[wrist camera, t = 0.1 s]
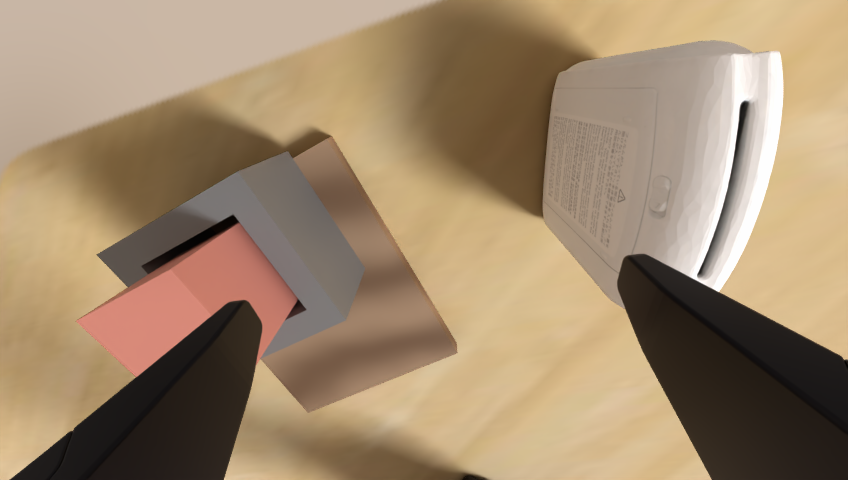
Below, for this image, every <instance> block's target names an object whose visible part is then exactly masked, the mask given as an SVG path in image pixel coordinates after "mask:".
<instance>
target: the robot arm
mask: <svg viewBox="0 0 848 480" xmlns="http://www.w3.org/2000/svg"><path fill="white" fill-rule="evenodd" d="M617 288H618V292H619V294H620V297H621V299H622V302H623V304H624V307H625V309H626V312H627V314H628V317H629V319H630V322H631V324H632V327H633V329H634V332H635V334H636V337H637V339H638V342H639V344H640V346H641V348H642V351H643V353H644V355H645V356H646V358H647V360H648V362H649V364H650V366H651V368H652V370H653V372H654V373H655V375H656V377H657V379H658V381H659V383H660V384H661V386H662V388H663V390H664V392H665V394H666V396H667V397H668V399H669V401H670V403H671V405H672V407H673V409H674V410H675V412H676V414H677V416H678V418H679V420H680V421H681V423H682V425H683V427H684V429H685V431H686V433H687V434H688V436H689V438H690V440H691V442H692V444H693V446H694V447H695V449H696V451H697V453H698V455H699V457H700V458H701V460H702V462H703V464H704V466H705V468H706V470H707V471H708V473H709V475H710V477H711V479H712V480H848V360H844V359H843V357H842V356H840V355H838V354H836V353H834V352H832V351H831V350H829V349H827V348H825V347H823V346H821V345H819V344H817V343H815V342H813V341H811V340H810V339H808V338H806V337H804V336H802V335H800V334H798V333H796V332H794V331H792V330H790V329H789V328H787V327H785V326H783V325H781V324H779V323H777V322H775V321H773V320H771V319H769V318H767V317H766V316H764V315H762V314H760V313H758V312H756V311H754V310H752V309H750V308H748V307H746V306H745V305H743V304H741V303H739V302H737V301H735V300H733V299H731V298H729V297H727V296H725V295H724V294H722V293H720V292H718V291H716V290H714V289H712V288H710V287H708V286H706V285H704V284H703V283H701V282H699V281H697V280H695V279H693V278H691V277H689V276H687V275H685V274H683V273H682V272H680V271H678V270H676V269H674V268H672V267H670V266H668V265H666V264H664V263H662V262H660V261H659V260H657V259H655V258H653V257H651V256H649V255H647V254H633V255H627V256H625V257H624V258H623V261H622V264H621V268H620V272H619V276H618V279H617ZM262 327H263V326H262V322H261V320H260V318H259V316H258V315H257V313H256V312H255V310H254V309H253V307H252V306H251V304H250V303H249V302H248V301H247V300H237V301H231V302H228V303H227V304H225V305H224V306H223V307H222V308H220V309H219V310H218V311H217V312H216V313H214V314H213V315H212V316H211V317H209V318H208V319H207V320H206V321H205V322H203V323H202V324H201V325H200V326H198V327H197V328H196V329H195V330H194V331H192V332H191V333H190V334H189V335H187V336H186V337H185V338H184V339H182V340H181V341H180V342H179V343H178V344H176V345H175V346H174V347H173V348H171V349H170V350H169V351H168V352H167V353H165V354H164V355H163V356H162V357H160V358H159V359H158V360H157V361H156V362H154V363H153V364H152V365H151V366H149V367H148V368H147V369H146V370H145V371H143V372H142V373H141V374H140V375H138V376H137V377H136V378H135V379H134V380H132V381H131V382H130V383H129V384H127V385H126V386H125V387H124V388H123V389H121V390H120V391H119V392H118V393H116V394H115V395H114V396H113V397H112V398H110V399H109V400H108V401H107V402H105V403H104V404H103V405H102V406H101V407H99V408H98V409H97V410H96V411H94V412H93V413H92V414H91V415H89V416H88V417H87V418H86V419H85V420H83V421H82V422H81V423H80V424H78V425H77V426H76V427H75V428H74V430H73V431H70V432H69V433H67V434H66V435H65V436H64V437H62V438H61V439H60V440H59V441H58V442H56V443H55V444H54V445H53V446H52V447H50V448H49V449H48V450H47V451H45V452H44V453H43V454H42V455H40V456H39V457H38V458H37V459H35V460H34V461H33V462H32V463H30V464H29V465H28V466H27V467H25V468H24V469H23V470H22V471H20V472H19V473H18V474H17V475H15V476H14V477H13V478H11V479H10V480H224V477H225V474H226V471H227V467H228V464H229V461H230V457H231V454H232V451H233V447H234V444H235V441H236V437H237V434H238V431H239V427H240V424H241V421H242V418H243V414H244V411H245V408H246V404H247V401H248V398H249V394H250V390H251V386H252V382H253V377H254V372H255V367H256V362H257V356H258V351H259V346H260V341H261V335H262ZM463 480H478V479H476V478H474V477H472V476H467V477H465V478H464V479H463Z"/></svg>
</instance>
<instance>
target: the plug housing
mask: <svg viewBox="0 0 848 480" xmlns="http://www.w3.org/2000/svg"><path fill="white" fill-rule="evenodd" d="M233 214H234V216H235V217H236V218H237V220H238V221H239V222H240V224H241V225H242V226H243V227H244V229H245V230H246V231H247V233H248V234H249V235H250V237H251V238H252V239H253V240H254V242H255V243H256V244H257V246H258V247H259V248H260V250H261V251H262V252H263V253H264V255H265V256H266V257H267V259H268V260H269V261H270V263H271V264H272V265H273V266H274V268H275V269H276V270H277V272H278V273H279V274H280V276H281V277H282V278H283V280H284V281H285V282H286V283H287V285H288V286H289V287H290V289H291V290H292V291H293V293H294V294H295V295H296V296H297V298H298V300H297V302H296V304H295V305H294V307H293V308H292V310H291V311H290V313H289V314H288V316H287V318H286V319H285V321H284V322H283V324H282V325H281V327H280V329H279V330H278V332H277V333H276V335H275V336H274V338H273V339H272V341H271V343H270V344H269V346H268V347H267V349H266V350H265V352H264V353H263V355H262V357H261V358H264V357H266V356H268V355H270V354H272V353H275V352H277V351H279V350H281V349H284V348H286V347H288V346H290V345H292V344H295V343H297V342H299V341H301V340H303V339H306V338H308V337H310V336H312V335H315V334H317V333H319V332H321V331H323V330H326V329H328V328H330V327H332V326H335V325H337V324H339V323H341V322H343V321H346V319H347V317H348V314H349V311H350V308H351V306H352V303H353V300H354V298H355V295H356V292H357V290H358V287H359V284H360V282H361V279H362V276H363V273H364V271H365V267H364V266H363V264H362V263H361V261H360V260H359V258H358V257H357V255H356V254H355V252H354V251H353V249H352V247H351V246H350V244H349V243H348V241H347V240H346V238H345V237H344V235H343V234H342V232H341V231H340V229H339V228H338V226H337V225H336V223H335V222H334V220H333V219H332V217H331V216H330V214H329V213H328V211H327V210H326V208H325V207H324V205H323V203H322V202H321V200H320V199H319V197H318V196H317V194H316V193H315V191H314V190H313V188H312V187H311V185H310V184H309V182H308V181H307V179H306V178H305V176H304V175H303V173H302V172H301V170H300V169H299V167H298V166H297V164H296V163H295V161H294V159H293V158H292V156H291V155H290V153H289V152H288V151H287V152H284V153H282V154H279V155H277V156H274V157H272V158H269V159H267V160H264V161H262V162H259V163H257V164H254V165H252V166H250V167H247V168H245V169H242V170H240V171H237V172H236V173H234V174H232V175H231V176H229V177H227V178H226V179H224V180H222V181H220V182H219V183H217V184H215V185H214V186H212V187H210V188H209V189H207V190H205V191H204V192H202V193H200V194H198V195H197V196H195V197H193V198H192V199H190V200H188V201H187V202H185V203H183V204H182V205H180V206H178V207H176V208H175V209H173V210H171V211H170V212H168V213H166V214H165V215H163V216H161V217H160V218H158V219H156V220H154V221H153V222H151V223H149V224H148V225H146V226H144V227H143V228H141V229H139V230H137V231H136V232H134V233H132V234H131V235H129V236H127V237H126V238H124V239H122V240H121V241H119V242H117V243H115V244H114V245H112V246H110V247H109V248H107V249H105V250H104V251H102V252H100V253H99V254H97V256H98V257H99V258H100V259H101V260H102V261H103V262H104V263H105V264H106V265H107V266H108V267H109V268H110V269H111V270H112V271H113V272H114V273H115V274H116V275H117V276H118V277H119V279H120V280H121V281H122V282H123V283H124V284H125V285H126V286H127V287H130V286H131V285H133V284H134V283H136V282H137V281H139V280H140V279H142V278H144V277H145V276H147V275H148V274H150V273H151V272H153V271H154V270H156V269H158V268H159V267H161V266H162V265H164V264H165V263H167V262H168V261H170V260H172V259H173V258H175V257H176V256H178V255H180V254H181V253H183V252H185V251H187V250H189V249H190V248H192V247H194V246H196V245H198V244H199V243H201V242H203V241H205V240H207V239H208V238H210V237H212V236H214V235H216V234H217V233H216V232H215V231H214V230H213V228H212V227H211V226H213V225H215V224H217V223H218V222H220V221H222V220H224V219H226V218H227V217H229V216H231V215H233ZM261 358H260V359H261Z"/></svg>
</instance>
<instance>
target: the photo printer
mask: <svg viewBox="0 0 848 480" xmlns="http://www.w3.org/2000/svg"><path fill="white" fill-rule="evenodd" d="M782 106H783V73H782V62H781V56H780V52H779V51H766V52H758V53H753V52H751V51H750V50H748V49H746V48H744V47H742V46H739V45H737V44H734V43H730V42H724V41H714V40H713V41H698V42H692V43H687V44H681V45H676V46H670V47H664V48H658V49H652V50H646V51H640V52H634V53H628V54H622V55H616V56H610V57H604V58H599V59H593V60H588V61H583V62H580V63H577V64H575V65H573V66H571V67H570V68H569V69H567V70H566V71H562V72H559V74H558V77H557V80H556V83H555V87H554V92H553V97H552V103H551V111H550V119H549V129H548V139H547V150H546V161H545V173H544V184H543V216H544V222H545V224H546V225H547V227H548V228H549V229H550V230H551V231H552V233H553V234H554V235H555V236H556V237H557V238H558V239H559V241H560V242H561V243H562V244H563V245H564V246H565V248H566V249H567V250H568V251H569V252H570V253H571V255H572V256H573V257H574V258H575V259H576V260H577V262H578V263H579V264H580V265H581V266H582V267H583V269H584V270H585V271H586V272H587V273H588V275H589V276H590V277H591V278H592V279H593V280H594V282H595V283H596V284H597V285H598V286H599V287H600V289H601V290H602V291H603V292H604V294H605V295H606V296H607V297H608V298H609V299H610V300H611V301H613V302H614V303H616V304H617V305H619V306H621V307H622V308H624V309H625V307H624V304H623V302H622V299H621V297H620V294H619V292H618V288H617V279H618V276H619V272H620V268H621V264H622V261H623V258H624V257H625V256H627V255H633V254H647V255H649V256H651V257H653V258H655V259H657V260H659V261H660V262H662V263H664V264H666V265H668V266H670V267H672V268H674V269H676V270H678V271H680V272H682V273H683V274H685V275H687V276H689V277H691V278H693V279H695V280H697V281H699V282H701V283H703V284H704V285H706V286H708V287H710V288H712V289H714V290H716V291H718V292H719V291H720V289H721V288H722V286H723V285H724V283H725V282H726V280H727V279H728V277H729V276H730V274H731V272H732V271H733V269H734V267H735V265H736V264H737V262H738V260H739V258H740V256H741V254H742V252H743V250H744V248H745V246H746V243H747V241H748V239H749V237H750V234H751V232H752V229H753V227H754V225H755V222H756V219H757V217H758V214H759V211H760V208H761V205H762V202H763V199H764V196H765V193H766V189H767V186H768V182H769V179H770V175H771V171H772V167H773V163H774V159H775V154H776V149H777V144H778V138H779V132H780V124H781V116H782Z"/></svg>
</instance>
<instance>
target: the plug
mask: <svg viewBox="0 0 848 480" xmlns="http://www.w3.org/2000/svg"><path fill="white" fill-rule="evenodd" d="M237 300H247V301H248V302H249V303H250V304H251V306H252V307H253V309H254V310H255V312H256V313H257V315H258V316H259V318H260V320H261V322H262V326H263V327H262V335H261V341H260V346H259V351H258V356H257V362H256V364H257V363H258V361H259V360H260V358H261V357H262V355H263V353H264V352H265V350H266V349H267V347H268V346H269V344H270V343H271V341H272V339H273V338H274V336H275V335H276V333H277V332H278V330H279V329H280V327H281V325H282V324H283V322H284V321H285V319H286V318H287V316H288V314H289V313H290V311H291V310H292V308H293V307H294V305H295V304H296V302H297V300H298V298H297V296H296V295H295V294H294V293H293V291H292V290H291V289H290V287H289V286H288V285H287V283H286V282H285V281H284V280H283V278H282V277H281V276H280V274H279V273H278V272H277V270H276V269H275V268H274V266H273V265H272V264H271V263H270V261H269V260H268V259H267V257H266V256H265V255H264V253H263V252H262V251H261V250H260V248H259V247H258V246H257V244H256V243H255V242H254V240H253V239H252V238H251V237H250V235H249V234H248V233H247V231H246V230H245V229H244V227H243V226H242V225H241V224H240V222H237V223H236V224H234V225H232V226H230V227H228V228H227V229H225V230H223V231H221V232H219V233H217V234H216V235H214V236H212V237H210V238H208V239H207V240H205V241H203V242H201V243H199V244H198V245H196V246H194V247H192V248H190V249H189V250H187V251H185V252H183V253H181V254H180V255H178V256H176V257H175V258H173V259H172V260H170V261H168V262H167V263H165V264H164V265H162V266H161V267H159V268H158V269H156V270H154V271H153V272H151V273H150V274H148V275H147V276H145V277H144V278H142V279H140V280H139V281H137V282H136V283H134V284H133V285H131V286H130V287H128V288H126V289H125V290H123V291H122V292H120V293H119V294H117V295H116V296H114V297H112V298H111V299H109V300H108V301H106V302H105V303H103V304H102V305H100V306H98V307H97V308H95V309H94V310H92V311H91V312H89V313H88V314H86V315H84V316H83V317H81V318H80V319H78V320H77V321H76V322H77V323H78V324H80V325H81V326H82V327H83V328H84V329H85V330H86V331H87V332H88V333H89V334H90V335H91V336H92V337H94V338H95V339H96V340H97V341H98V342H99V343H100V344H101V345H102V346H103V347H104V348H105V349H106V350H108V351H109V352H110V353H111V354H112V355H113V356H114V357H115V358H116V359H117V360H118V361H119V362H120V363H121V364H123V365H124V366H125V367H126V368H127V369H128V370H129V371H130V372H131V373H132V374H133V375H134V376H135V377H137V376H138V375H140V374H141V373H142V372H143V371H145V370H146V369H147V368H148V367H149V366H151V365H152V364H153V363H154V362H156V361H157V360H158V359H159V358H160V357H162V356H163V355H164V354H165V353H167V352H168V351H169V350H170V349H171V348H173V347H174V346H175V345H176V344H178V343H179V342H180V341H181V340H182V339H184V338H185V337H186V336H187V335H189V334H190V333H191V332H192V331H194V330H195V329H196V328H197V327H198V326H200V325H201V324H202V323H203V322H205V321H206V320H207V319H208V318H209V317H211V316H212V315H213V314H214V313H216V312H217V311H218V310H219V309H220V308H222V307H223V306H224V305H225V304H227V303H228V302H231V301H237Z"/></svg>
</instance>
